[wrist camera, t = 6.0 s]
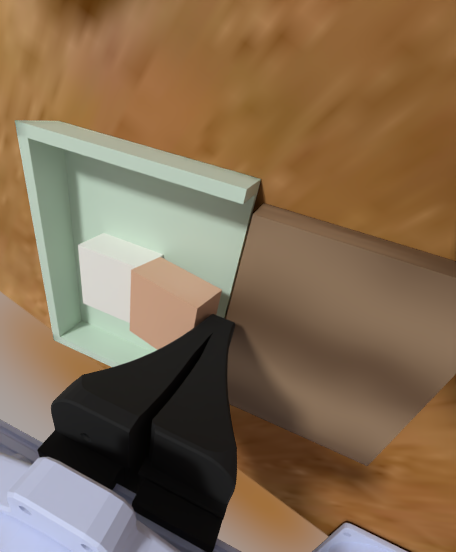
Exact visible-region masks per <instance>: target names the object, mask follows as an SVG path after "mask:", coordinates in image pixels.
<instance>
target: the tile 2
mask: <svg viewBox="0 0 456 552" xmlns="http://www.w3.org/2000/svg"><path fill="white" fill-rule="evenodd" d="M221 293H222V289H220V288H218V287H216V286H214V285H212V284H210V283H209V282H207V281H205V280H203V279H201V278H199V277H197V276H195V275H194V274H192V273H190V272H188V271H186V270H184V269H182V268H180V267H179V266H177V265H175V264H173V263H171V262H169V261H167V260H165V259H164V258H162V257H159V258H156V259H154V260H152V261H150V262H147V263H145V264H143V265H141V266H138V267H136V268H134V269H131V292H130V331H131V332H132V333H134V334H135V335H137V336H138V337H140V338H141V339H142V340H144V341H145V342H147V343H148V344H150V345H151V346H153V347H154V348H155V349H157V350H158V349H160V348H162V347H164V346H166V345H168V344H169V343H171V342H173V341H174V340H176V339H178V338H179V337H181V336H183V335H184V334H186V333H187V332H189V331H190V330H192V329H193V328H194V327H196V326H197V325H198V324H200V323H201V322H202V321H204V320H205V319H206V318H207V317H209V316H210V315H211V314H214V315H216V314H217V310H218V305H219V301H220V297H221Z"/></svg>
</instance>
